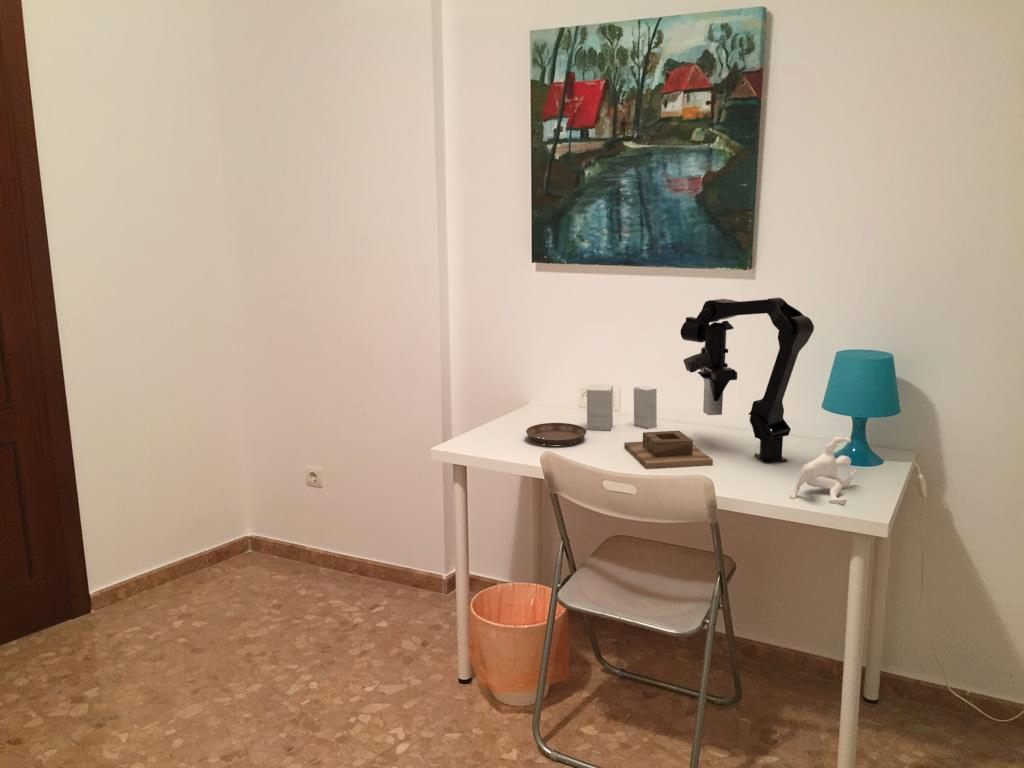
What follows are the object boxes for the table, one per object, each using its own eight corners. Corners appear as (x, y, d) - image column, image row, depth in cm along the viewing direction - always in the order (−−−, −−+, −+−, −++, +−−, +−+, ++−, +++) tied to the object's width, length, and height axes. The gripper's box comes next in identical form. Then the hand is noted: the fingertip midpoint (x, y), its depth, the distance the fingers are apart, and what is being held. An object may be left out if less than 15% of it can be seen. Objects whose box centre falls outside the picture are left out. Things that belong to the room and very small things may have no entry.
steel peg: (722, 414, 235) (723, 379, 233) (708, 415, 234) (709, 380, 232) (716, 411, 239) (718, 377, 237) (703, 411, 238) (704, 377, 236)
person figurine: (840, 462, 184) (849, 429, 199) (781, 466, 191) (794, 434, 206) (851, 514, 188) (859, 478, 202) (793, 517, 194) (805, 481, 209)
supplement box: (613, 425, 260) (613, 385, 258) (610, 431, 253) (611, 390, 250) (589, 423, 262) (589, 384, 259) (586, 429, 255) (586, 389, 252)
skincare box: (657, 426, 258) (658, 388, 255) (647, 429, 255) (648, 390, 252) (642, 422, 262) (643, 385, 260) (632, 425, 259) (633, 387, 257)
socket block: (712, 465, 219) (713, 444, 217) (646, 468, 216) (646, 448, 215) (685, 444, 238) (686, 425, 237) (624, 447, 235) (624, 428, 234)
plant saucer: (573, 451, 233) (574, 441, 232) (516, 444, 240) (516, 434, 240) (595, 436, 249) (595, 426, 248) (540, 430, 256) (540, 420, 255)
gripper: (676, 340, 240) (674, 393, 244) (699, 351, 222) (697, 408, 225) (713, 339, 242) (711, 392, 245) (739, 349, 224) (736, 406, 227)
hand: (713, 399), depth 236 cm, fingers closed on steel peg, 4 cm apart
